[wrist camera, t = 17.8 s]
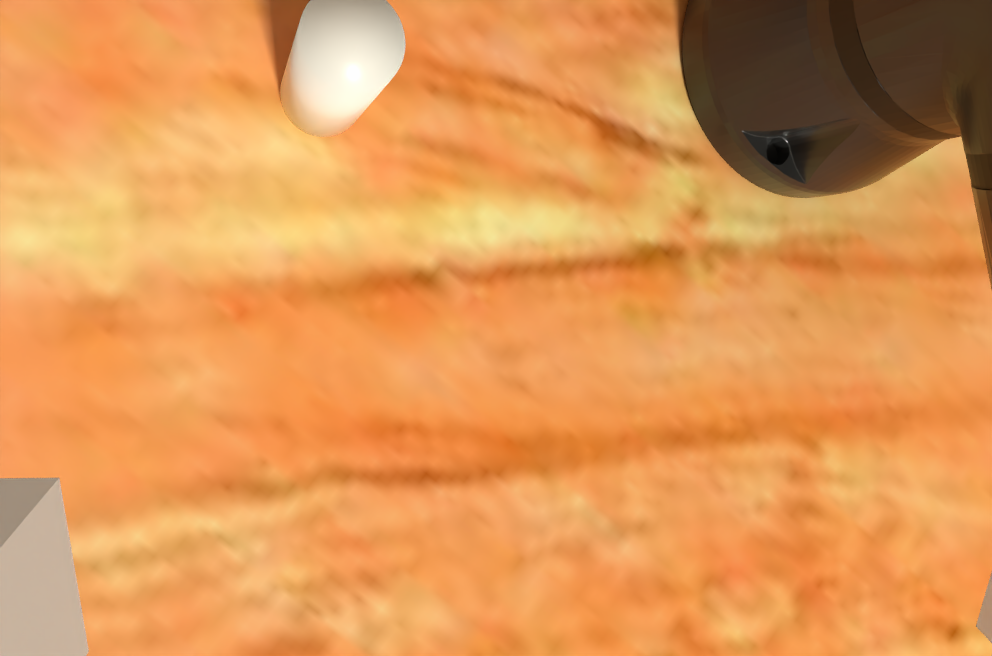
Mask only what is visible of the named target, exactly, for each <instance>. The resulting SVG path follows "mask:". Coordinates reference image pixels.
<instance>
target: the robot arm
mask: <svg viewBox="0 0 992 656" xmlns="http://www.w3.org/2000/svg"><path fill="white" fill-rule="evenodd" d="M682 56H683V68H684V75H685V81H686V85H687V90H688V93H689V97H690V101H691V103H692V106H693V109H694V112H695V114H696V116H697V119H698V121H699V123H700V125H701V127H702V129H703V131H704V133H705V134H706V136H707V138H708V139H709V141H710V142H711V144H712V145H713V147H714V148H715V149H716V151H717V152H718V153H719V154H720V156H721V157H722V158H723V159H724V160H725V161H726V162H727V163H728V164H729V165H730V166H731V167H732V168H733V169H734V170H735V171H736V172H737V173H739V174H740V175H741V176H742V177H744V178H745V179H747V180H748V181H750V182H751V183H753V184H755V185H757V186H758V187H761V188H763V189H765V190H767V191H770V192H773V193H775V194H779V195H783V196H788V197H797V198H811V197H820V196H827V195H834V194H841V193H846V192H850V191H854V190H857V189H860V188H863V187H865V186H868V185H870V184H872V183H874V182H876V181H878V180H880V179H882V178H883V177H885V176H887V175H888V174H890V173H892V172H893V171H895V170H896V169H898V168H900V167H901V166H903V165H905V164H906V163H908V162H910V161H911V160H913V159H914V158H916V157H918V156H919V155H921V154H923V153H924V152H926V151H928V150H929V149H931V148H932V147H934V146H936V145H937V144H939V143H941V142H942V141H944V140H946V139H950V138H955V137H960V136H962V141H963V146H964V152H965V154H966V159H967V164H968V168H969V173H970V178H971V187H972V192H973V197H974V202H975V207H976V212H977V217H978V222H979V227H980V233H981V238H982V243H983V248H984V253H985V258H986V263H987V268H988V273H989V279H990V284H991V289H992V0H689V1H688V5H687V9H686V14H685V20H684V27H683V40H682ZM976 627H977V628H978V629H979V630H980V631H981V632H982V633H983V634H984V635H985V636H986V637H987V638H988V640H989V641H990V642H991V643H992V573H991V576H990V580H989V583H988V586H987V590H986V593H985V597H984V600H983V604H982V607H981V611H980V614H979V618H978V621H977V625H976ZM88 651H89V650H88V644H87V638H86V632H85V626H84V621H83V615H82V609H81V603H80V597H79V591H78V585H77V579H76V573H75V568H74V562H73V556H72V550H71V544H70V538H69V532H68V526H67V521H66V515H65V509H64V503H63V497H62V491H61V485H60V479H59V478H0V656H86V655H87V653H88Z"/></svg>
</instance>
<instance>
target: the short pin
mask: <svg viewBox="0 0 992 656" xmlns="http://www.w3.org/2000/svg"><path fill="white" fill-rule="evenodd" d="M404 53H405V35H404V30H403V26H402V24H401V21H400V19H399V17H398V15H397V13H396V12H395V10H394V9H393V8H392V6H391V5H390V4H389V3H388V2H387V1H386V0H310V1H309V3H308V4H307V5H306V7H305V9H304V11H303V13H302V16H301V19H300V22H299V26H298V29H297V32H296V35H295V39H294V42H293V45H292V48H291V52H290V55H289V58H288V62H287V65H286V68H285V71H284V75H283V78H282V81H281V86H280V99H281V104H282V107H283V109H284V111H285V113H286V115H287V117H288V118H289V119H290V121H291V122H292V123H293V124H294V125H295V126H296V127H298V128H299V129H300V130H302V131H304V132H305V133H308V134H310V135H313V136H318V137H331V136H336V135H338V134H341V133H343V132H345V131H346V130H347V129H349V128H350V127H351V126H352V125H353V124H354V123H355V122H356V120H357V119H358V118H359V117H360V116H361V114H362V113H363V112H364V111H365V110H366V109H367V107H368V106H369V105H370V104H371V103H372V102H373V100H374V99H375V98H376V97H377V96H378V94H379V93H380V92H381V91H382V90H383V89H384V87H385V86H386V85H387V84H388V83H389V82H390V80H391V79H392V78H393V77H394V76H395V74H396V73H397V71H398V70H399V68H400V66H401V64H402V61H403V58H404Z"/></svg>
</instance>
